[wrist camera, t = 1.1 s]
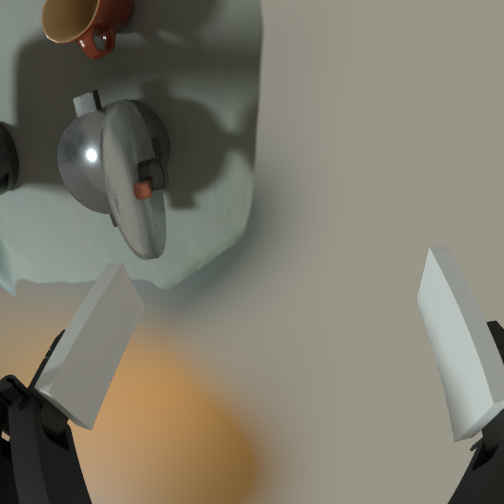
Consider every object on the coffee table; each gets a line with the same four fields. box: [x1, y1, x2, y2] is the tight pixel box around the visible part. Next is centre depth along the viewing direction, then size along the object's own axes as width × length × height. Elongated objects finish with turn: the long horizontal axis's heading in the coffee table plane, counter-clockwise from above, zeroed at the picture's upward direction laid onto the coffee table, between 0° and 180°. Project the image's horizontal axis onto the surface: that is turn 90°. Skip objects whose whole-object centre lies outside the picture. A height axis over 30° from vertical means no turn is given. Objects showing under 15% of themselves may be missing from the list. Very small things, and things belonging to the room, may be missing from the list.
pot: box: [57, 90, 170, 227], centre depth 37 cm, size 15×19×8 cm
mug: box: [42, 0, 133, 60], centre depth 25 cm, size 12×9×10 cm
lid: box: [100, 99, 169, 260], centre depth 27 cm, size 15×15×3 cm
